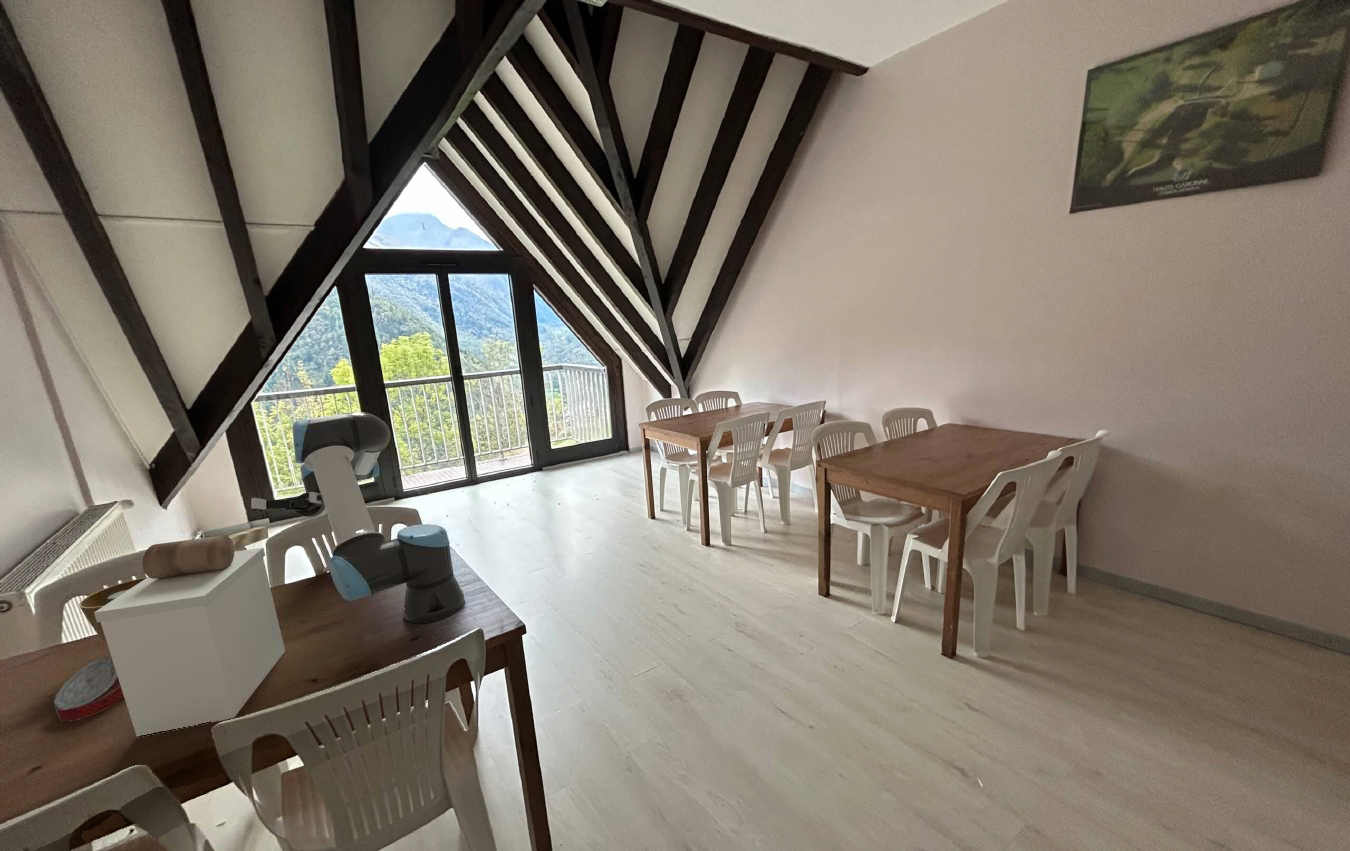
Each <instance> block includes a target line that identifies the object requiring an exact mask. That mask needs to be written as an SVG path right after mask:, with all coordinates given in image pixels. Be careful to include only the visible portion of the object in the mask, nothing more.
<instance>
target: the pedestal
mask: <svg viewBox="0 0 1350 851" xmlns="http://www.w3.org/2000/svg"><path fill="white" fill-rule="evenodd" d="M265 556H266V553H265V548H264V547H259V548H252V549H251V548H250V549H243V550H234V559H233V561H232V563H231V565H230V566H229V567H228V568H226V569H220V570H213V571H206V572H199V573H192V574H185V575H178V576H171V577H164V578H157V579H152V578H149V577H148V576H147V577H148V578H146V579H145V580H143V581H142V582H140V583H139V584H137V585H135V586H134V587H132V588H131V589H129V590H128V591H126V592H125V593H123V594H122V595H120V596H119V597H117V598H116V599H114V600H112V601H111V602H109V603H108V604H106V605H105V606H103V607H102V608H100V609H99V610H97V611H96V612H94V614H95V618H96V621H97V622H101V625H102V628H103V632H104V635H105V638H106V641H107V644H108V645H107V644H106V645H107V647H108V650H109V653H110V658H112V660H113V663H114V666H115V669H116V673H117V676H118V679H119V682H120V685H121V688H122V692H123V695H124V697H123V699H124V701H125V703H126V707H127V711H128V713H129V717H130V720H131V723H132V725H133V726H132V727H133V729H134V733H135V735H136V737H137V736H140V735H147V734H151V733H154V732H159V731H167V730H171V729H176V730H178V729H177V728H181V729H184V728H183V727H186V728H189V727H188V726H191V727H195V726H194V725H196V726H199V725H198V724H201V723H206V722H210V721H211V723H215V722H221V721H226V720H230V719H234V718H236V716H237V714H239V712H240V711H241V710H242V709H243V707H244V705H245V704H246V703H247V702H248V700H249V699H250V697H251V696H253V694H254V693H255V691H256V690H257V688H258V687H259V686H260V685H261V684H262V682H263V681H264V679H265V678H267V675H268V674H269V673H270V672H271V670H272V669H273V668H274V666H276V664H277V663H278V661H279V660H280V659H281V658H282V656H283V655H284V653H285V652H286V648H285V644H284V640H283V637H282V632H281V628H280V623H279V620H278V615H277V612H276V611H277V610H276V606H275V602H274V597H273V594H272V589H271V585H270V581H269V576H268V572H267V568H266V564H265V559H264V557H265ZM206 724H207V723H206ZM201 725H202V724H201ZM167 732H168V731H167ZM147 736H148V735H147Z"/></svg>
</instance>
